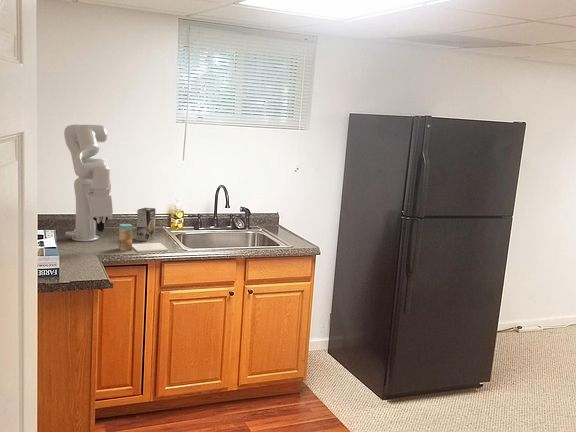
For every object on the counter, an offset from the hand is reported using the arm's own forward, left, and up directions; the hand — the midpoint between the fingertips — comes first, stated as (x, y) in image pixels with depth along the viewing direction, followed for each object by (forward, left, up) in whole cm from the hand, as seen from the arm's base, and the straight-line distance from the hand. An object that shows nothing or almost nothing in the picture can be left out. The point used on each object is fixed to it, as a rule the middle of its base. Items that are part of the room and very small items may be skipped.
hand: (100, 231), depth 275 cm
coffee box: (+27, +19, -10) cm, 35 cm away
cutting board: (+23, 0, -10) cm, 25 cm away
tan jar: (+12, 0, -10) cm, 15 cm away
